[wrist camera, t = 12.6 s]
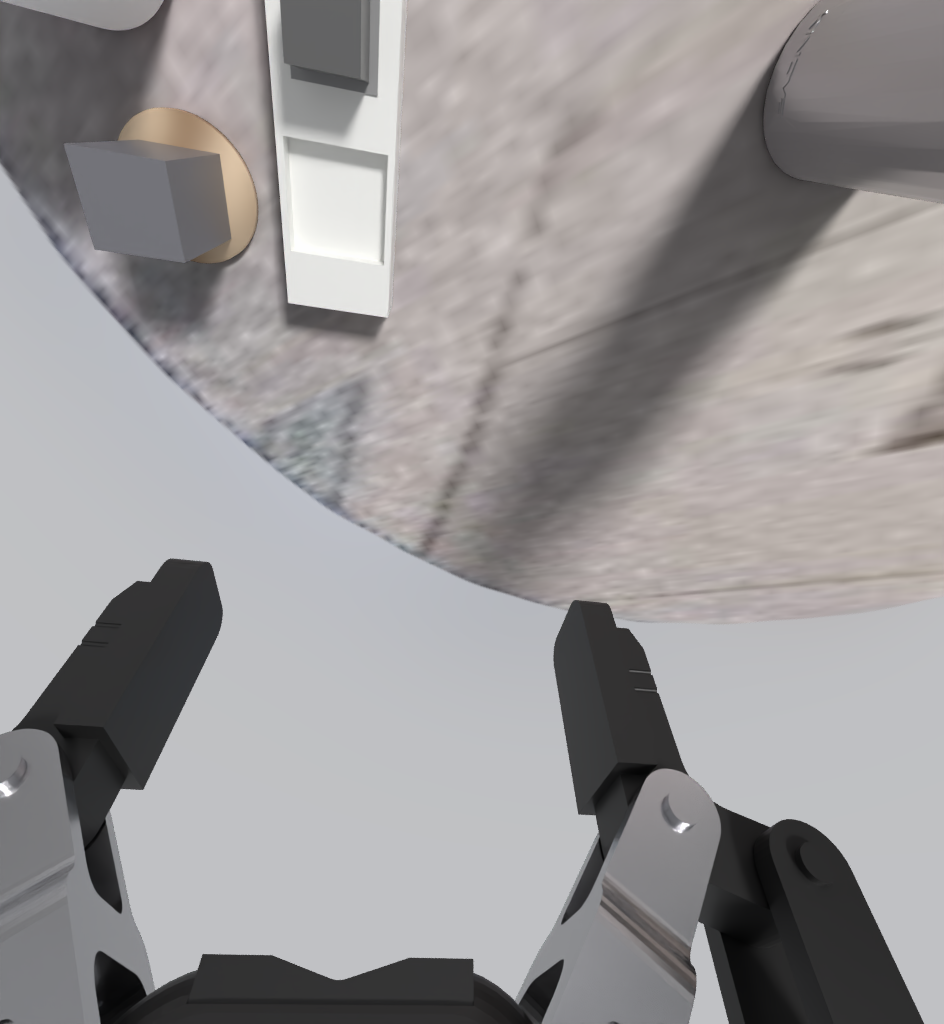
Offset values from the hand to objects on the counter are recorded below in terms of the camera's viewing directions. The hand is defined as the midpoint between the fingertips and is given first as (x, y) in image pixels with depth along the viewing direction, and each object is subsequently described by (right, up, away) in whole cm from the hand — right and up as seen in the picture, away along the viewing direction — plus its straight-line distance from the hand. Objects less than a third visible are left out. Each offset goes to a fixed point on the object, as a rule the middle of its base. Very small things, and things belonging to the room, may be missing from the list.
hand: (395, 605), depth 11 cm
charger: (-16, +22, +19) cm, 33 cm away
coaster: (-16, +22, +19) cm, 33 cm away
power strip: (-5, +28, +15) cm, 32 cm away
